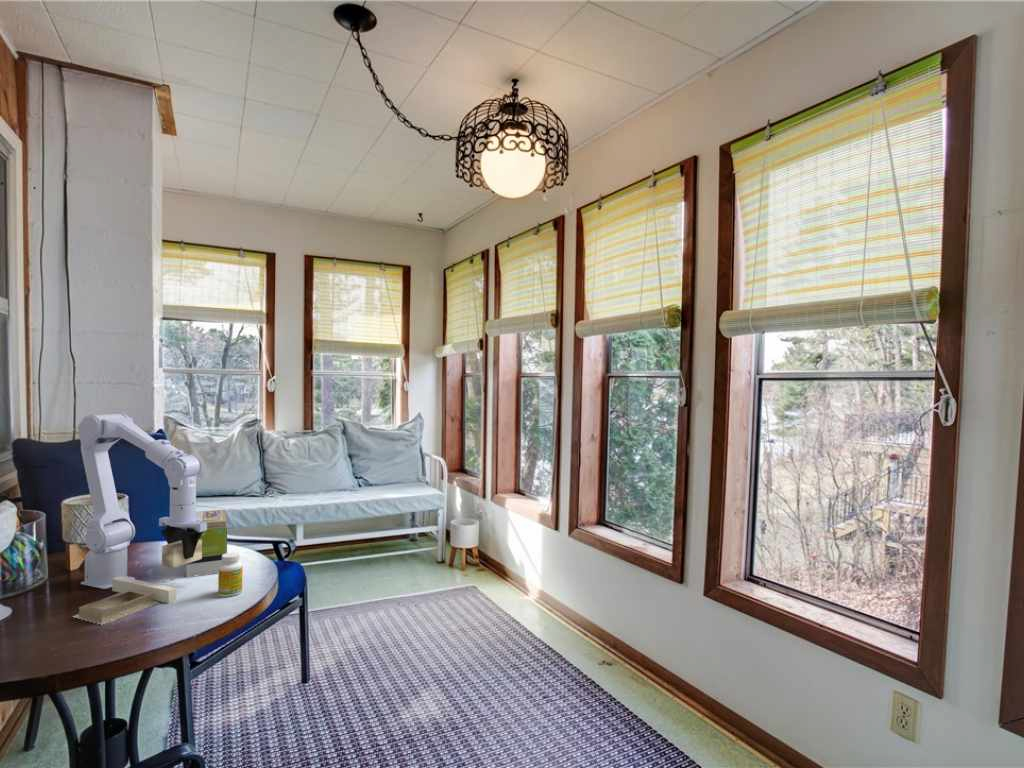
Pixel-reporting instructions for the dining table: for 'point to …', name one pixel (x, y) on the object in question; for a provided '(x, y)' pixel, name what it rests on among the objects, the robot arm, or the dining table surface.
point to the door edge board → (145, 588)
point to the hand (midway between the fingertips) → (182, 556)
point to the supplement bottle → (230, 575)
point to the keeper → (115, 607)
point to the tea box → (210, 543)
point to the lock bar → (179, 554)
